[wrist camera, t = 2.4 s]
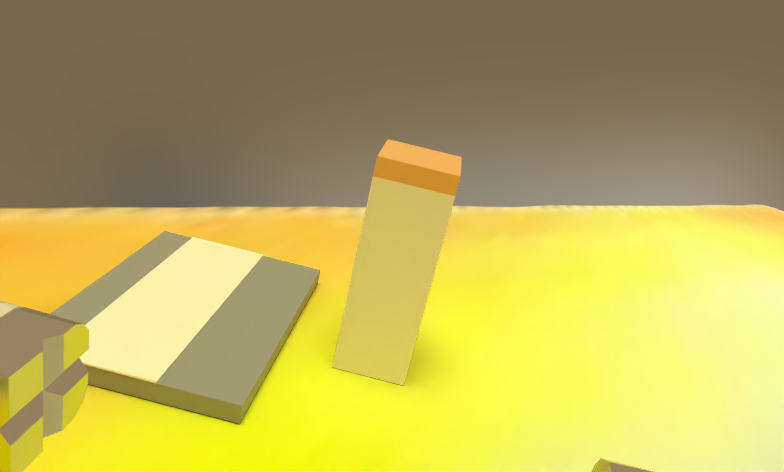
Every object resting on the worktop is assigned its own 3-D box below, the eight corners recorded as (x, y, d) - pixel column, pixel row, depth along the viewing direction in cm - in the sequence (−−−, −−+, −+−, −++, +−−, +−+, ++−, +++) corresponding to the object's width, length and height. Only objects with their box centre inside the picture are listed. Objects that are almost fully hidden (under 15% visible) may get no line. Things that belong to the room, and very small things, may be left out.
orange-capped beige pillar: (410, 347, 36) (461, 157, 32) (403, 385, 32) (460, 176, 28) (346, 330, 36) (388, 139, 32) (332, 367, 32) (377, 156, 28)
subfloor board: (317, 283, 41) (320, 269, 40) (239, 423, 27) (242, 404, 26) (163, 244, 41) (164, 229, 41) (7, 363, 27) (7, 342, 27)
